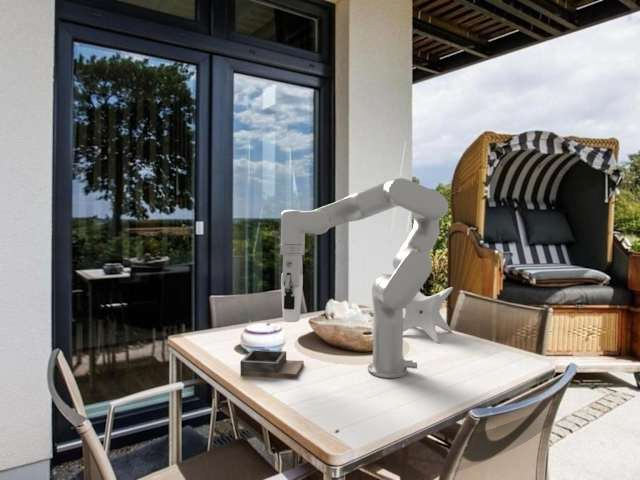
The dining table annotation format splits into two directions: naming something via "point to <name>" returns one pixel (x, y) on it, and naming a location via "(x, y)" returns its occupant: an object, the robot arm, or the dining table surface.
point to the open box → (270, 364)
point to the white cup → (294, 314)
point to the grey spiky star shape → (426, 313)
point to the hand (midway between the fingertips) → (291, 306)
